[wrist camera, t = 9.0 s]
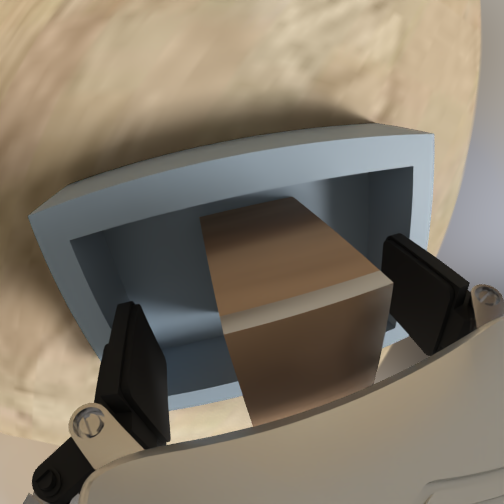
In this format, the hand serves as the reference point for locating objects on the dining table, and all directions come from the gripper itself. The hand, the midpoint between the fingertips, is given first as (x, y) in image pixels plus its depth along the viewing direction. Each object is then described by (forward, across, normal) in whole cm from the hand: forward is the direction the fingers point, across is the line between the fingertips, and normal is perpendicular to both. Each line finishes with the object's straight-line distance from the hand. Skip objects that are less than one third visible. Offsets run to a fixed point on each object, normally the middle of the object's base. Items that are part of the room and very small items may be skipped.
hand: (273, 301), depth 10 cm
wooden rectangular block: (+3, 0, 0) cm, 3 cm away
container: (+4, 0, 0) cm, 4 cm away
